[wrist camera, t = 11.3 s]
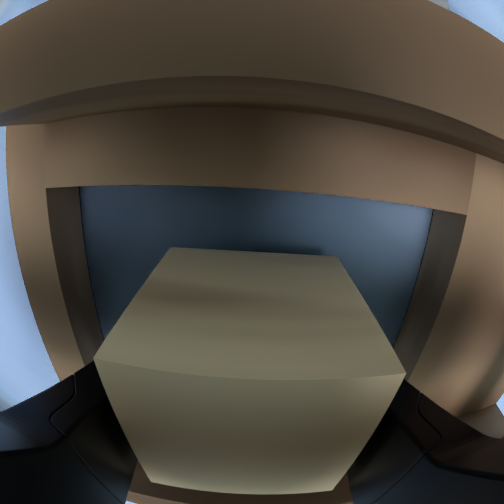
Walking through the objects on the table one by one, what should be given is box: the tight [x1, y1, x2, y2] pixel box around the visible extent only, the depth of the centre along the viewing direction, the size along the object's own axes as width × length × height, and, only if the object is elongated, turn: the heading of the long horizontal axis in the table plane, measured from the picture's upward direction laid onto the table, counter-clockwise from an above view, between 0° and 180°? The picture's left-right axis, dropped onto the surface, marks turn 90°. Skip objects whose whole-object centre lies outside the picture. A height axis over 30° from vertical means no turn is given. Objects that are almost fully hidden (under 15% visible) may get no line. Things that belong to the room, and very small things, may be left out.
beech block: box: [93, 247, 406, 494], centre depth 7 cm, size 5×5×5 cm
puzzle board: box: [0, 0, 504, 504], centre depth 8 cm, size 17×24×6 cm
